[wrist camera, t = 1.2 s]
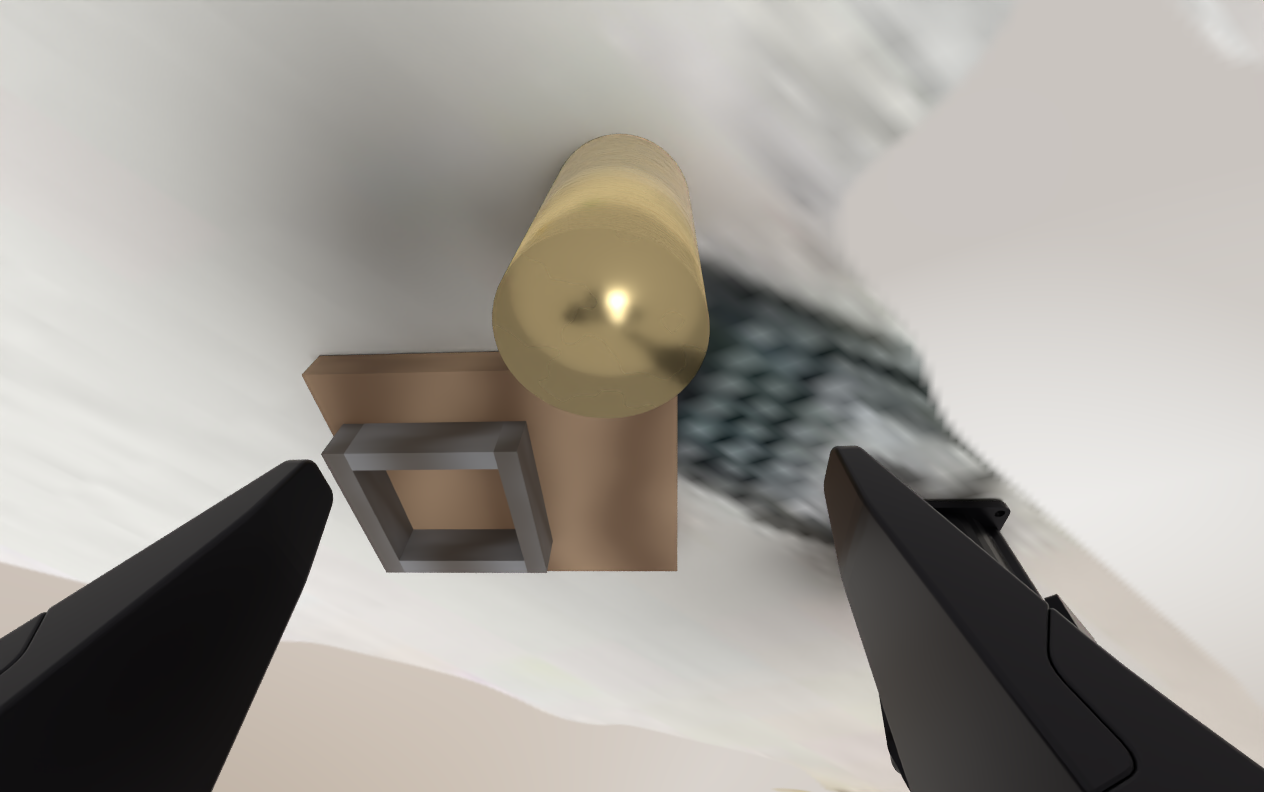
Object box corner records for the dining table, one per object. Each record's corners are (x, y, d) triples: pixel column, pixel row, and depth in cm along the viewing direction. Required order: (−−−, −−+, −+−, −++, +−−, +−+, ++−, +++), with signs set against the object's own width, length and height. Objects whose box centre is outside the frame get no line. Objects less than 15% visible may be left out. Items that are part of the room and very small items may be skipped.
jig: (676, 347, 23) (678, 396, 20) (676, 549, 31) (678, 603, 29) (319, 355, 24) (274, 403, 21) (412, 549, 32) (389, 601, 30)
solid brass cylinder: (691, 130, 18) (714, 223, 11) (689, 270, 21) (706, 416, 14) (543, 137, 18) (468, 232, 11) (562, 274, 21) (514, 419, 14)
